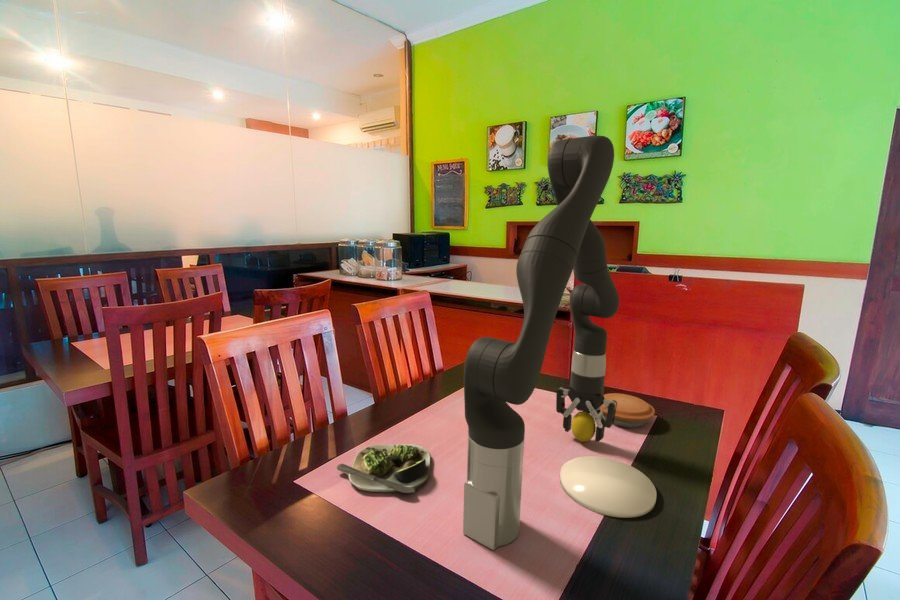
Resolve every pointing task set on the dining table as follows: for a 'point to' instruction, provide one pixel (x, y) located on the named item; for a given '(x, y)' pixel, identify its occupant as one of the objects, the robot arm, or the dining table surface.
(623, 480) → the saucer
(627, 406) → the pie
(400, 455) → the salad plate
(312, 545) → the dining table surface
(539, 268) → the robot arm
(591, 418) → the lemon
